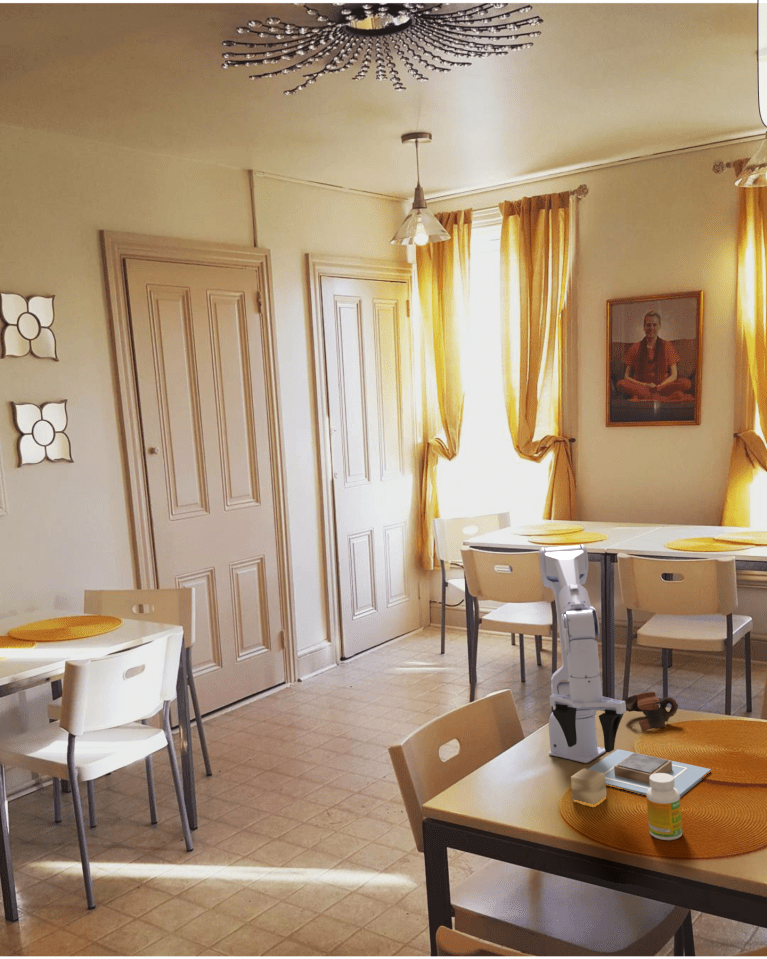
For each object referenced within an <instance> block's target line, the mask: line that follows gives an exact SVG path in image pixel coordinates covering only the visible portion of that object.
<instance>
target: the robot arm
mask: <svg viewBox="0 0 767 959" xmlns="http://www.w3.org/2000/svg"><path fill="white" fill-rule="evenodd" d="M538 557H539V558H538V559H539V568H540V574H541V582H542V583H543V587H546V588H549V589H551V590H552V593H553V595H554V598H555V607H556V615H557V625H558V626H557V628H558V634H559V644H560V645H559V646H560V653H561V654H560V655H561V664H562V665H561V666H560V668H558V669H557V670H555V672H553V673H552V675H551V678H550V684H551V685H550V688H551V690H550V691H551V695H549V705H550V707H552V708H553V710H552V712H551V714H550V715H549V719H548V734H549V745H550V747H549V748H550V750H549V751H548V755H550V756H554V757H558V758H562V759H566V760H570V761H576V762H579V763H582V764H583V763H584V764H589V763H590V762H592V761H593V760H595V759H597V758H598V757H600V756H601V755H602V754H604V753H610V754H611V753H612V752H614V750H615V745H616V744H615V743H616V737H617V733H618V729H619V726H620V723H621V721H622V718H623V717H624V714H625V713H626V712H627V711H626V703H625V701H624V700H622V699H621V700H620V699H614V698H611V697H608V696H607V697H606V696H603V693H602V681H601V680H602V678H601V669H600V660H599V659H600V658H599V644H598V640H600V621H599V616H598V613H597V611H596V610H597V609H596V608H595V607H594V606H592V604H591V600H590V596H589V593H588V590H587V588H585V587H584V586H583V585H585V584H586V583H587V579H588V574H589V573H588V572H589V556H588V549H587V547H586V545H584V544H583V543H581V544H576V545H563V546H562V545H561V546H551V547H550V546H549V547H543V546H541V547H540V549H539V550H538ZM568 679H569V682H567V680H568ZM564 680H566V681H564ZM597 711H598V712H599V711H601V712H603V713H601V714H599V715H598V719H599V722H600V726H601V728H602V729H601V730H602V735H603V744H604V745H603V746H604V747H600V746H599V745H598V736H597V723H596V716H597ZM624 712H625V713H624Z"/></svg>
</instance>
